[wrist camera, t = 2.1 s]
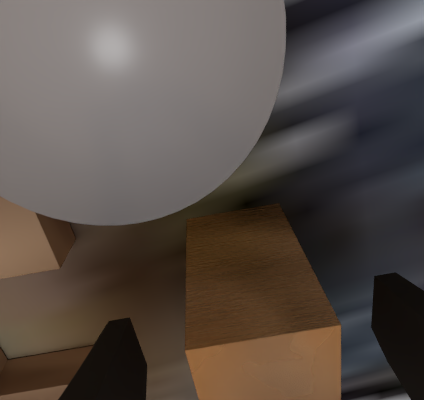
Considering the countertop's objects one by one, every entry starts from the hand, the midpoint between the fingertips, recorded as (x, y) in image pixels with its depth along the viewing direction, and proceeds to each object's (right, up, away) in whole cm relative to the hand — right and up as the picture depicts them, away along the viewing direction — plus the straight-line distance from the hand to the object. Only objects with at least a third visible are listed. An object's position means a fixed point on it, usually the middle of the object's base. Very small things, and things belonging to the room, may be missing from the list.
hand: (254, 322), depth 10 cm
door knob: (-4, +8, 0) cm, 9 cm away
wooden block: (0, +2, +4) cm, 4 cm away
